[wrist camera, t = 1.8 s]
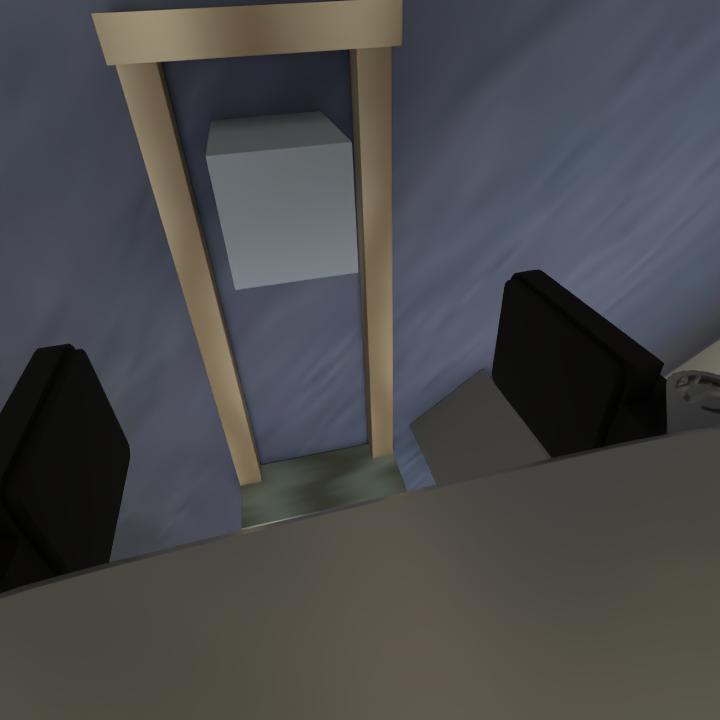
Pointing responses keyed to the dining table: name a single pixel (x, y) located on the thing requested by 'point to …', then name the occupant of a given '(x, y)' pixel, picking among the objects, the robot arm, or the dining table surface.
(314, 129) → the grey rectangular block
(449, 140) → the dining table surface
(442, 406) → the perfume bottle
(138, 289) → the dining table surface
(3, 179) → the dining table surface
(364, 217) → the track
